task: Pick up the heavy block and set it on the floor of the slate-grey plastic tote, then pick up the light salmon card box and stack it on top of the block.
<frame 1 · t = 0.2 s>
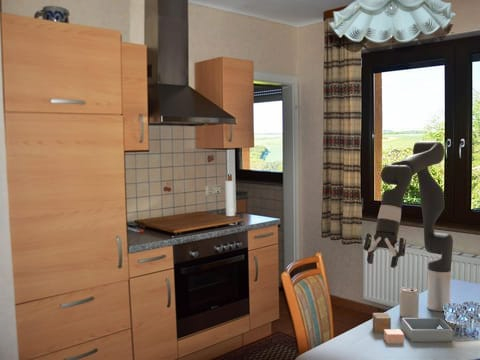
hand: (381, 265, 166), 31 cm above the table, tool tilted 20°, fingers open, 8 cm apart
can: (408, 317, 201), on the table
heavy block: (381, 330, 188), on the table
tote: (426, 335, 182), on the table
light box: (393, 341, 178), on the table
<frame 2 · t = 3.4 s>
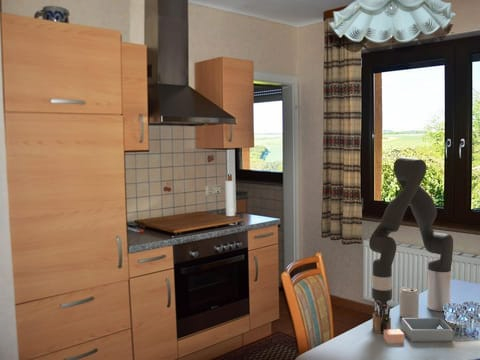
hand: (381, 328, 187), 1 cm above the table, tool pointing down, fingers closed on heavy block, 5 cm apart
heavy block: (381, 330, 188), on the table, touching gripper
everything else where it was.
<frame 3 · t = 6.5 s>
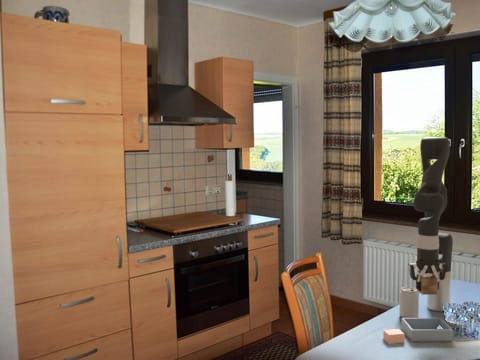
hand: (427, 290, 181), 17 cm above the table, tool pointing down, fingers closed on heavy block, 5 cm apart
heavy block: (427, 292, 181), point 17 cm above the table, touching gripper
everything else where it was.
when the fingers open (3 cm above the table, at t = 9.8 s): heavy block drops 1 cm, resting on tote.
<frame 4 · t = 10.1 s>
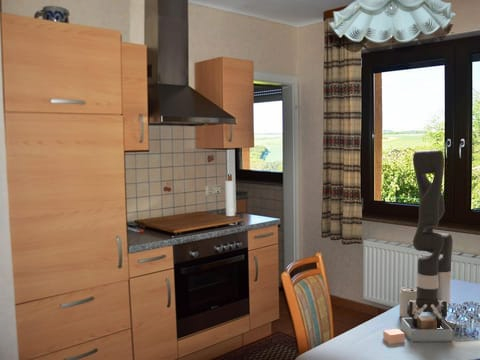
hand: (426, 327, 182), 3 cm above the table, tool pointing down, fingers open, 8 cm apart
heavy block: (426, 333, 182), point 1 cm above the table, touching tote
everything else where it was.
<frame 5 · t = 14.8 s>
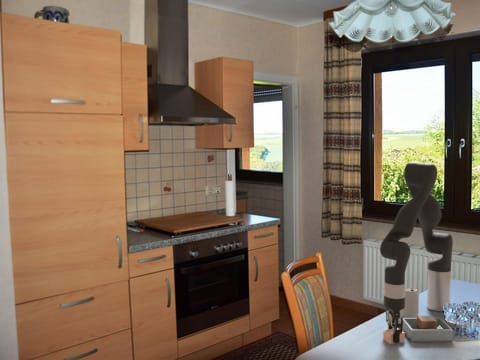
hand: (393, 338, 178), 1 cm above the table, tool pointing down, fingers closed on light box, 5 cm apart
light box: (393, 340, 178), on the table, touching gripper
everything else where it was.
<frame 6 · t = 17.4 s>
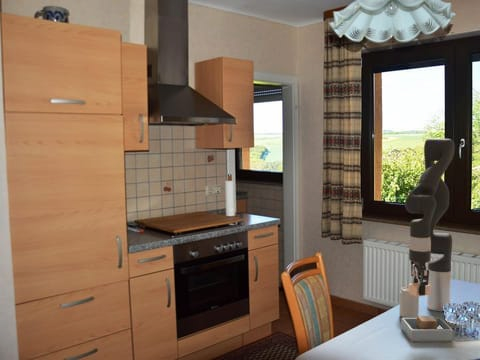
hand: (419, 292, 180), 17 cm above the table, tool pointing down, fingers closed on light box, 5 cm apart
light box: (419, 293, 180), point 16 cm above the table, touching gripper
everything else where it was.
when the fingers open (8 cm above the table, at t = 20.0 s): light box drops 1 cm, resting on heavy block.
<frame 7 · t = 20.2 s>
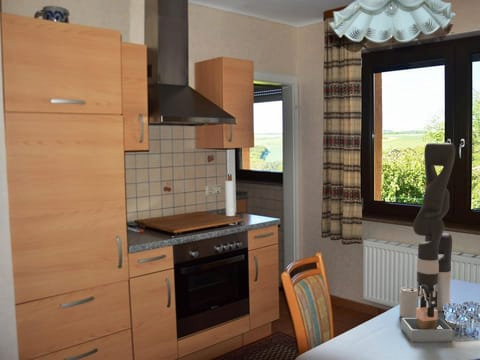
hand: (426, 313, 181), 9 cm above the table, tool pointing down, fingers open, 7 cm apart
heavy block: (426, 333, 182), point 1 cm above the table, touching light box, tote
light box: (426, 318, 182), point 7 cm above the table, touching heavy block
everything else where it was.
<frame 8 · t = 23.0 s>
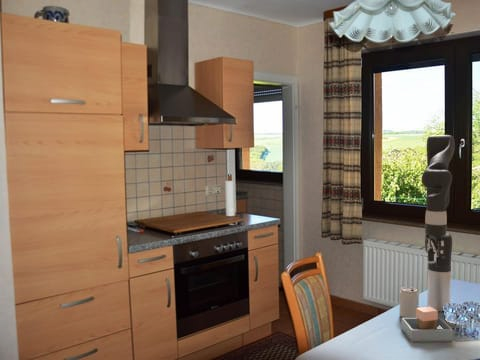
hand: (434, 264, 185), 26 cm above the table, tool pointing down, fingers open, 8 cm apart
nothing on the table moved.
at the end: heavy block inside the target area on the tote (0.1 cm from its centre), point 0.6 cm above the tote's base; light box 0.1 cm off-centre on the heavy block, point 6.0 cm above the heavy block's base; light box tilted 0° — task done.
